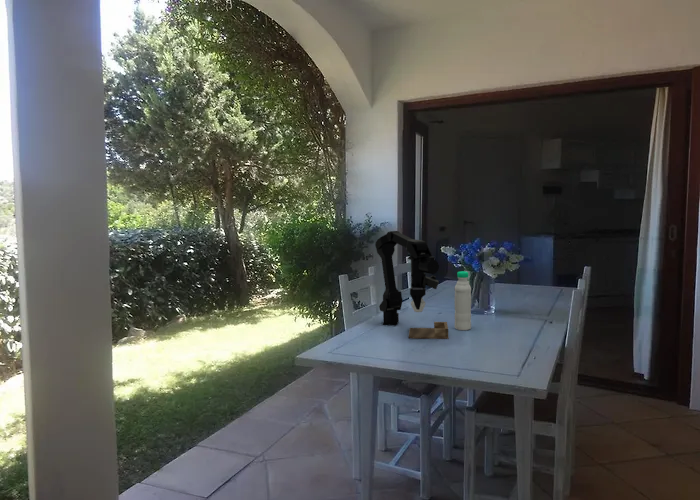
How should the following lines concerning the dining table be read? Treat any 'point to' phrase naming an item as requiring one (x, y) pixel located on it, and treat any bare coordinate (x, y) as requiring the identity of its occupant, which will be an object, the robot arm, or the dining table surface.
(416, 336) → the channel bracket
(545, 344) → the dining table surface
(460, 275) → the white milk bottle
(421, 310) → the muffin
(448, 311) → the dining table surface
